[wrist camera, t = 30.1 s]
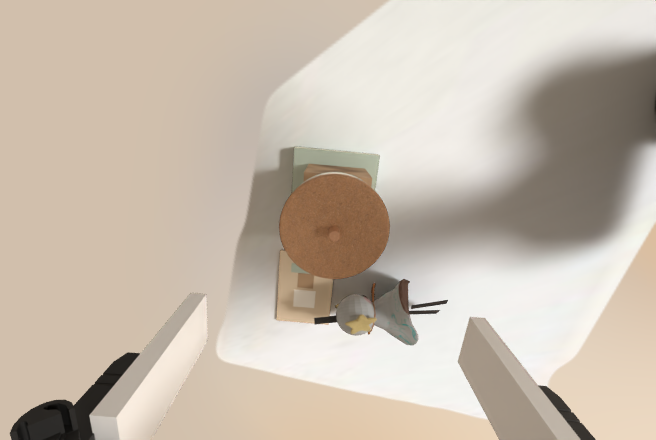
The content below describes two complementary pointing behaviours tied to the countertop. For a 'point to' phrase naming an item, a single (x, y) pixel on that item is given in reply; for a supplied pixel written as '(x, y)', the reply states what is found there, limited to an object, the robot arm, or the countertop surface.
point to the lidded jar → (334, 225)
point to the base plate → (332, 162)
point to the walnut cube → (318, 169)
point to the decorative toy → (379, 314)
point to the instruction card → (301, 293)
